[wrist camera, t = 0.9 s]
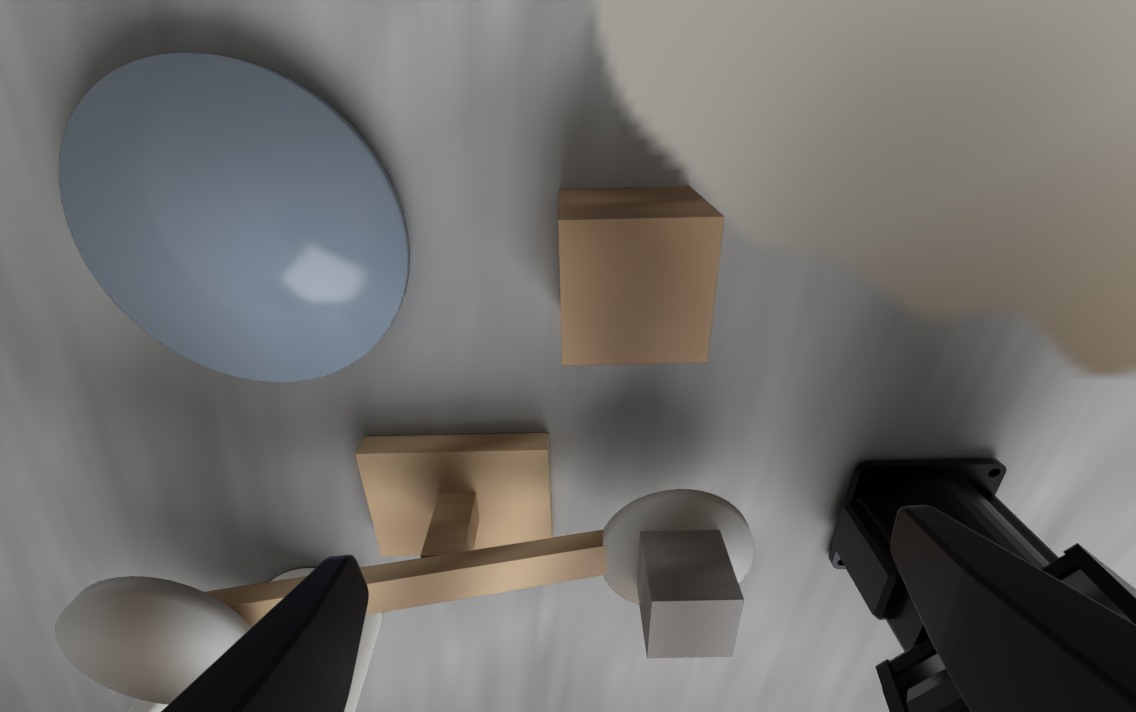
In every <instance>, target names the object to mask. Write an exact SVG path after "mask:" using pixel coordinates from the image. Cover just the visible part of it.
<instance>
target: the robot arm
mask: <svg viewBox="0 0 1136 712" xmlns="http://www.w3.org/2000/svg"><path fill="white" fill-rule="evenodd" d="M869 471H870V472H869ZM867 472H869V473H867ZM866 473H867V474H866ZM1005 473H1006V467H1005V466H1004V465H1003V464H1002V463H1001V462H1000V461H998V460H997V459H994V458H977V459H929V460H880V461H864V462H862V463H860V464H859V465H858V466H857V467H856V469H855V471H854V474H853V477H852V481H851V484H850V487H849V491H848V494H847V497H846V501H845V504H844V505H843V507H842V510H841V513H840V517H839V520H838V523H837V527H836V530H835V533H834V537H833V540H832V547H831V551H830V554H829V560H830V561H831V563H832V565H833V567H834V568H836V569H847V571H848V573H849V574H850V576H851V578H852V580H853V581H854V583H855V585H856V587H857V588H858V590H859V592H860V594H861V595H862V597H863V599H864V601H865V602H866V604H867V606H868V607H869V609H870V611H871V613H872V614H873V615H874V616H875V617H876V618H877V619H879V620H883V619H886V621H887V623H888V624H889V626H890V628H891V629H892V631H893V633H894V634H895V636H896V638H897V639H898V641H899V643H900V644H901V646H902V648H903V649H904V651H905V652H903V653H902V654H900V655H898V656H897V657H895V658H894V659H892V660H887V659H886V660H885V661H883V662H882V663H880V664H878V665H877V666H876V670H877V673H878V676H879V679H880V682H881V685H882V690H883V693H884V696H885V699H886V702H887V705H888V708H889V711H890V712H1136V589H1135V588H1133V587H1132V586H1131V585H1130V584H1128V583H1127V582H1126V581H1125V580H1123V579H1122V578H1121V577H1120V576H1118V575H1117V574H1116V573H1115V572H1113V571H1112V570H1111V569H1110V568H1108V567H1107V566H1106V565H1104V564H1103V563H1102V562H1101V561H1099V560H1098V559H1097V558H1096V557H1094V556H1093V555H1092V554H1091V553H1089V552H1088V551H1087V550H1086V549H1084V548H1083V547H1082V546H1081V545H1079V544H1078V543H1077V544H1075V545H1074V546H1072V547H1070V548H1069V549H1067V550H1065V551H1064V553H1065V555H1063V556H1062V557H1060V558H1058V557H1057V556H1056V555H1055V554H1054V553H1053V552H1052V551H1051V550H1050V549H1049V548H1048V547H1047V546H1046V545H1045V544H1044V543H1043V542H1042V541H1041V540H1040V539H1039V538H1038V537H1037V536H1036V535H1035V534H1034V533H1033V532H1032V531H1031V530H1030V529H1029V528H1028V527H1027V526H1026V525H1025V524H1024V523H1022V522H1021V521H1020V520H1019V519H1018V518H1017V517H1016V516H1015V515H1014V514H1013V513H1012V512H1011V511H1010V510H1009V509H1008V508H1007V507H1006V506H1005V505H1004V504H1003V503H1002V502H1001V501H1000V500H999V499H998V498H997V497H996V496H995V494H996V492H997V490H998V488H999V486H1000V483H1001V481H1002V479H1003V477H1004V475H1005ZM368 600H369V590H368V586H367V583H366V581H365V579H364V576H363V574H362V572H361V569H360V567H359V565H358V563H357V560H356V559H355V557H353V556H352V555H341V556H331V557H328V558H327V559H325V560H324V561H323V562H322V563H320V564H319V565H318V566H317V567H316V568H315V569H314V570H313V571H312V572H311V573H310V574H309V575H308V576H306V577H305V578H304V579H303V580H302V581H301V582H300V583H299V584H298V585H297V586H296V587H295V588H294V589H292V590H291V591H290V592H289V593H288V594H287V595H286V596H285V597H284V598H283V599H282V600H281V601H280V602H278V603H277V604H276V605H275V606H274V607H273V608H272V609H271V610H270V611H269V612H268V613H267V614H266V615H264V616H263V617H262V618H261V619H260V620H259V621H258V622H257V623H256V624H255V625H254V626H253V627H252V628H250V629H249V630H248V631H247V632H246V633H245V634H244V635H243V636H242V637H241V638H240V639H239V640H238V641H236V642H235V643H234V644H233V645H232V646H231V647H230V648H229V649H228V650H227V651H226V652H225V653H224V654H222V655H221V656H220V657H219V658H218V659H217V660H216V661H215V662H214V663H213V664H212V665H211V666H210V667H208V668H207V669H206V670H205V671H204V672H203V673H202V674H201V675H200V676H199V677H198V678H197V679H195V680H194V681H193V682H192V683H191V684H190V685H189V686H188V687H187V688H186V689H185V690H184V691H183V692H181V693H180V694H179V695H178V696H177V697H176V698H175V699H174V700H173V701H172V702H171V703H170V704H169V705H167V706H166V707H165V708H164V709H163V710H162V711H161V712H344V711H345V707H346V704H347V700H348V697H349V692H350V688H351V684H352V679H353V675H354V670H355V665H356V660H357V655H358V650H359V645H360V640H361V635H362V630H363V625H364V621H365V616H366V611H367V606H368Z"/></svg>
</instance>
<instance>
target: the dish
mask: <svg viewBox="0 0 1136 712" xmlns="http://www.w3.org/2000/svg"><path fill="white" fill-rule="evenodd" d="M59 186H60V194H61V202H62V206H63V209H64V213H65V217H66V221H67V224H68V227H69V229H70V232H71V234H72V237H73V239H74V242H75V244H76V246H77V248H78V250H79V252H80V254H81V256H82V258H83V260H84V261H85V263H86V265H87V267H88V268H89V270H90V271H91V273H92V274H93V276H94V277H95V279H96V280H97V282H98V283H99V285H100V286H101V287H102V288H103V290H104V291H105V292H106V293H107V294H108V296H109V297H110V298H111V299H112V300H113V302H114V303H115V304H116V305H117V306H118V307H119V308H120V309H121V310H122V311H123V312H124V313H125V314H126V315H127V316H128V317H129V318H130V319H131V320H132V321H133V322H135V323H136V324H137V325H138V326H139V327H140V328H142V329H143V330H144V331H145V332H146V333H148V334H149V335H150V336H152V337H153V338H155V339H156V340H157V341H159V342H160V343H162V344H163V345H165V346H166V347H168V348H169V349H171V350H173V351H175V352H176V353H178V354H180V355H182V356H183V357H185V358H187V359H189V360H191V361H193V362H196V363H198V364H200V365H202V366H204V367H207V368H210V369H212V370H215V371H218V372H221V373H224V374H227V375H231V376H235V377H239V378H243V379H249V380H256V381H263V382H296V381H305V380H310V379H315V378H320V377H323V376H326V375H329V374H332V373H334V372H337V371H339V370H341V369H343V368H345V367H347V366H349V365H351V364H352V363H354V362H355V361H357V360H358V359H360V358H361V357H362V356H364V355H365V354H366V353H367V352H368V351H369V350H370V349H371V348H372V347H373V346H375V345H376V344H377V343H378V341H379V340H380V339H381V337H382V336H383V335H384V333H385V332H386V331H387V329H388V328H389V326H390V325H391V323H392V322H393V320H394V318H395V316H396V314H397V312H398V311H399V309H400V306H401V304H402V301H403V298H404V295H405V292H406V288H407V282H408V277H409V267H410V248H409V237H408V231H407V226H406V222H405V218H404V213H403V210H402V207H401V205H400V202H399V199H398V196H397V193H396V191H395V189H394V187H393V185H392V183H391V181H390V179H389V177H388V175H387V173H386V171H385V169H384V167H383V166H382V164H381V163H380V161H379V160H378V158H377V157H376V155H375V154H374V152H373V150H372V149H371V148H370V146H369V145H368V144H367V143H366V142H365V140H364V139H363V138H362V137H361V135H360V134H359V133H358V132H357V131H356V129H355V128H354V127H353V126H352V125H351V124H350V123H349V122H348V121H347V120H346V119H345V118H344V117H343V116H342V115H341V114H339V113H338V112H337V111H336V110H335V109H334V108H333V107H331V106H330V105H329V104H328V103H326V102H325V101H324V100H323V99H321V98H320V97H319V96H318V95H316V94H315V93H313V92H312V91H310V90H309V89H307V88H305V87H304V86H302V85H301V84H299V83H297V82H296V81H294V80H292V79H290V78H288V77H286V76H284V75H282V74H280V73H278V72H276V71H274V70H271V69H269V68H267V67H264V66H261V65H258V64H255V63H252V62H249V61H246V60H243V59H238V58H233V57H228V56H223V55H217V54H199V53H170V54H160V55H153V56H150V57H146V58H142V59H139V60H135V61H132V62H130V63H128V64H126V65H124V66H122V67H119V68H117V69H115V70H113V71H112V72H110V73H109V74H108V75H106V76H105V77H104V78H102V79H101V80H99V81H98V82H97V83H95V84H94V86H93V87H92V88H91V89H90V90H89V91H88V92H87V93H86V94H85V95H84V97H83V98H82V99H81V100H80V102H79V104H78V105H77V107H76V108H75V110H74V112H73V113H72V115H71V117H70V119H69V122H68V125H67V127H66V130H65V133H64V135H63V139H62V145H61V150H60V156H59Z"/></svg>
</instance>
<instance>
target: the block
mask: <svg viewBox="0 0 1136 712" xmlns="http://www.w3.org/2000/svg"><path fill="white" fill-rule="evenodd" d="M723 224H724V216H723V215H722V214H721V213H720V212H718V211H717V210H716V209H715V208H714V207H713V206H712V205H710V204H709V203H708V202H707V201H706V200H705V199H704V198H703V197H701V196H700V195H699V194H698V193H697V192H696V191H695V190H693V189H692V188H691V187H690V186H682V187H635V188H588V189H559V214H558V228H559V265H560V301H561V338H562V365H606V364H655V363H703V362H707V358H708V350H709V342H710V333H711V325H712V316H713V308H714V300H715V291H716V283H717V274H718V266H719V258H720V249H721V241H722V232H723Z"/></svg>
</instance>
